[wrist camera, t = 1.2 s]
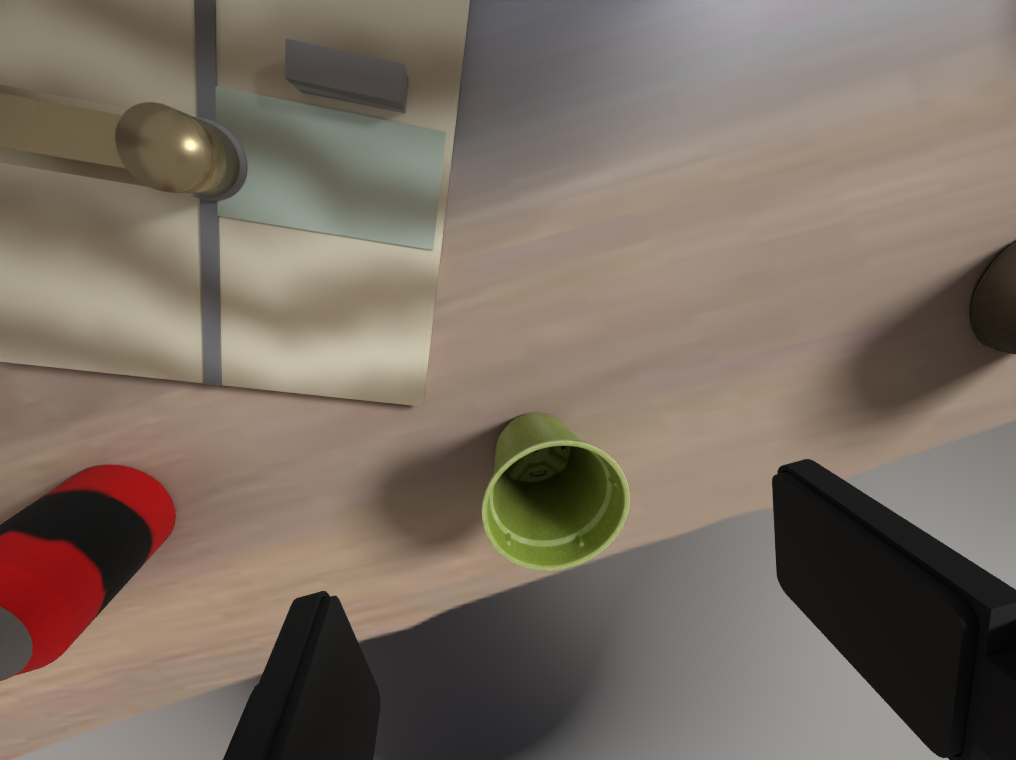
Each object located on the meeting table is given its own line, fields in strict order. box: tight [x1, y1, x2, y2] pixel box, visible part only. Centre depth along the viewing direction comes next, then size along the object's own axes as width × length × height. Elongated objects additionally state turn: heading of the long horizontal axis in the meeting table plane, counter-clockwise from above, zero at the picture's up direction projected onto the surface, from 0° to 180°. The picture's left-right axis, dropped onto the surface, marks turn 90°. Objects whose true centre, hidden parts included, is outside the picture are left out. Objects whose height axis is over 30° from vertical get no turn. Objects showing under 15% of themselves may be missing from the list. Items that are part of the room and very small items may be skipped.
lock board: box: [0, 0, 470, 407], centre depth 27 cm, size 28×28×4 cm
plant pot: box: [482, 413, 630, 571], centre depth 34 cm, size 9×9×9 cm
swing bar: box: [0, 93, 240, 197], centre depth 24 cm, size 15×4×5 cm, turn 81°
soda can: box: [0, 465, 176, 681], centre depth 30 cm, size 8×8×12 cm
